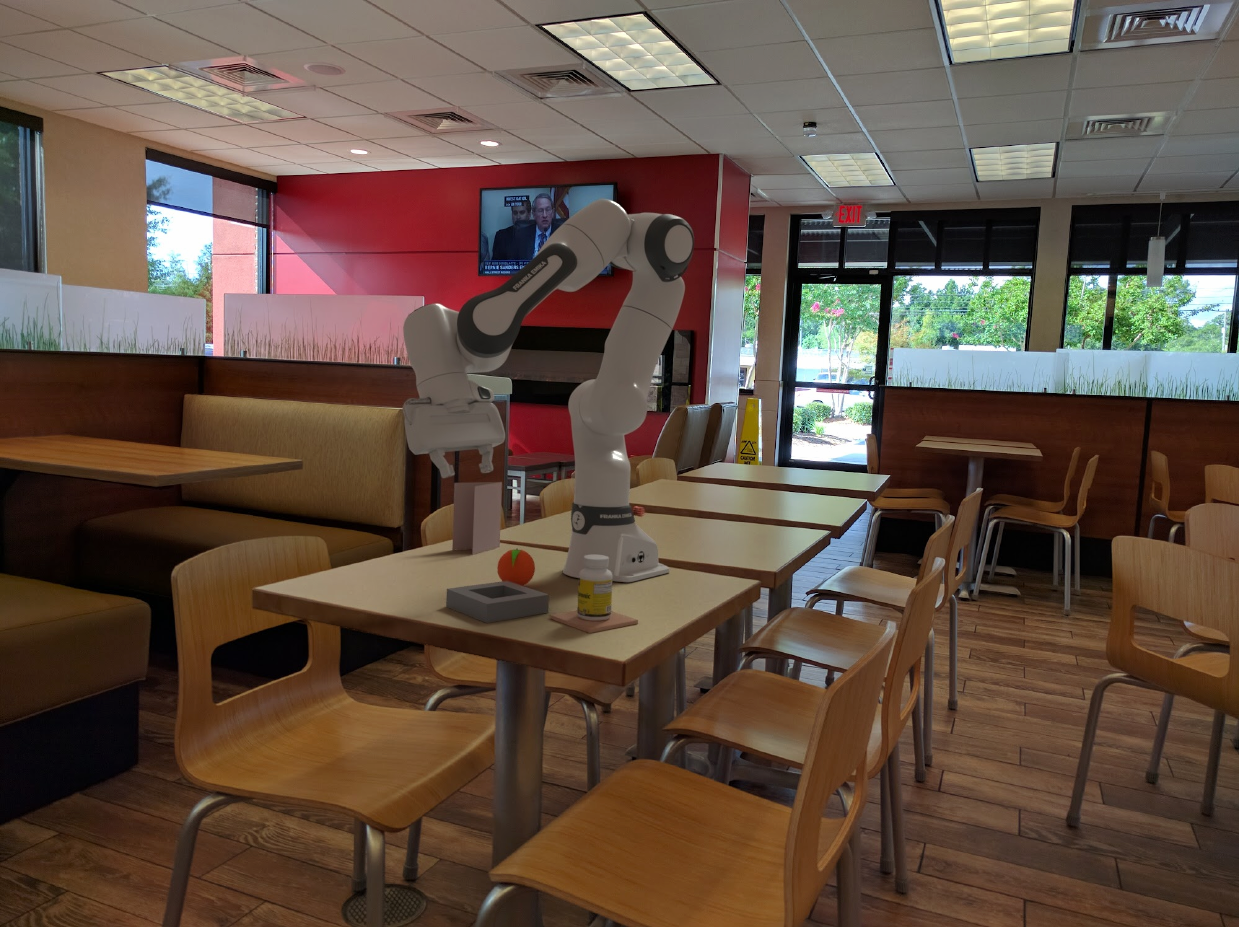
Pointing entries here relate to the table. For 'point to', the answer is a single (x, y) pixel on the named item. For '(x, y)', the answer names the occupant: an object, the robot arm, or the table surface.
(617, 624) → the coaster
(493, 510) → the greeting card
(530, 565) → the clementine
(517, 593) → the pocket holder
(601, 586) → the supplement bottle
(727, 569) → the table surface
